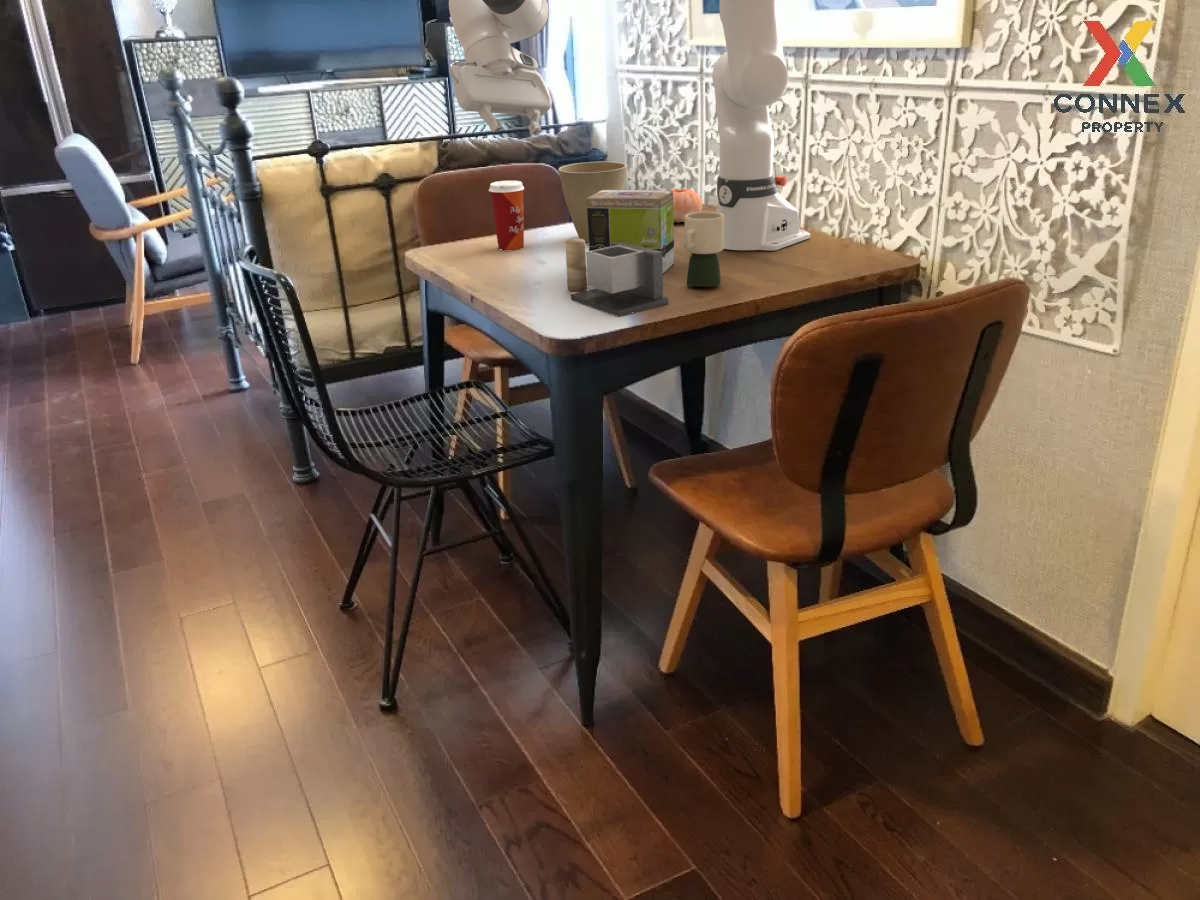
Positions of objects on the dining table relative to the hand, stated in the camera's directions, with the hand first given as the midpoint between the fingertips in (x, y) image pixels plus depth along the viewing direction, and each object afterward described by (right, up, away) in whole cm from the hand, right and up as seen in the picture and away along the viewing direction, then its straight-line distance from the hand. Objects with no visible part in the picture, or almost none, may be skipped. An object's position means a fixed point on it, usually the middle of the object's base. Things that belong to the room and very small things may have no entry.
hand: (517, 131), depth 173 cm
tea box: (+22, -23, +13) cm, 34 cm away
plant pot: (+14, -12, +38) cm, 42 cm away
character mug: (+35, -29, -1) cm, 45 cm away
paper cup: (-4, -15, +33) cm, 37 cm away
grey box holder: (+18, -33, -8) cm, 39 cm away
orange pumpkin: (+35, -4, +52) cm, 63 cm away
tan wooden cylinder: (+11, -29, 0) cm, 31 cm away
